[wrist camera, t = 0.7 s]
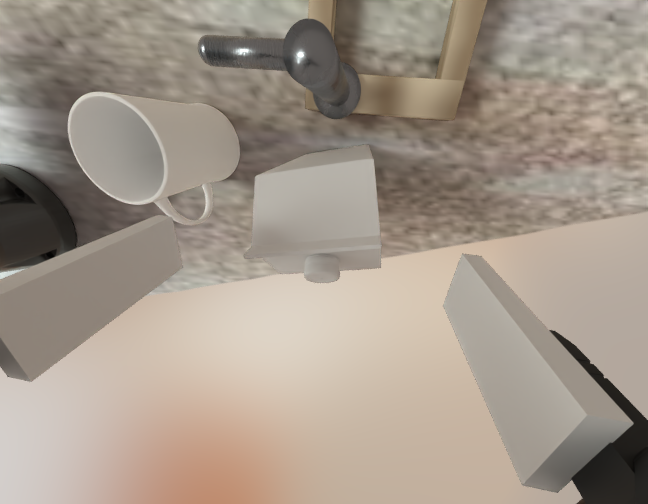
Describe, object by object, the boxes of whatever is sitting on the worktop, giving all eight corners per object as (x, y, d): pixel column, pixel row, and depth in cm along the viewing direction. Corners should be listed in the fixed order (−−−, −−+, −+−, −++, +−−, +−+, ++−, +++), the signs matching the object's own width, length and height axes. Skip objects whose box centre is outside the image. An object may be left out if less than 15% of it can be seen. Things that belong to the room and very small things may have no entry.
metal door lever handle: (286, 115, 27) (199, 100, 13) (286, 66, 25) (184, -18, 11) (358, 121, 26) (351, 112, 12) (364, 70, 24) (364, -12, 10)
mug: (256, 202, 32) (202, 239, 21) (198, 209, 34) (120, 247, 23) (227, 96, 27) (138, 74, 16) (160, 111, 29) (40, 100, 18)
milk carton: (305, 153, 28) (221, 189, 12) (368, 143, 27) (377, 167, 10) (316, 213, 31) (260, 310, 15) (373, 207, 30) (385, 307, 13)
